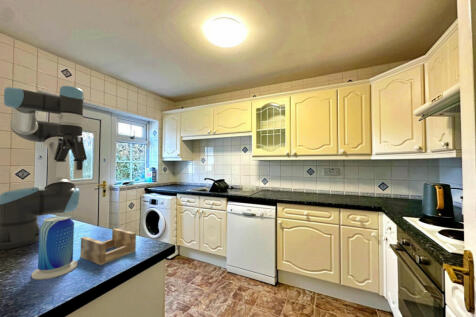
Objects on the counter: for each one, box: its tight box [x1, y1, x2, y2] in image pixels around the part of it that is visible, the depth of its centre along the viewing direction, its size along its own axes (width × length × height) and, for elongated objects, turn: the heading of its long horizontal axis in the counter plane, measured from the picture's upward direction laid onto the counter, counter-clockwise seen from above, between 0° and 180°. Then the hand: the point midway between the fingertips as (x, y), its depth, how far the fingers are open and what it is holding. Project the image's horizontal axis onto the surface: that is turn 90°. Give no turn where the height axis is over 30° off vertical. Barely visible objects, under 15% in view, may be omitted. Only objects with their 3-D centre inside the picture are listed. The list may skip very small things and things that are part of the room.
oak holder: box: [80, 227, 137, 266], centre depth 77 cm, size 13×13×7 cm
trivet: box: [31, 259, 79, 281], centre depth 65 cm, size 11×11×1 cm
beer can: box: [37, 215, 75, 273], centre depth 65 cm, size 8×8×16 cm
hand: (69, 178), depth 81 cm, fingers open, 13 cm apart
